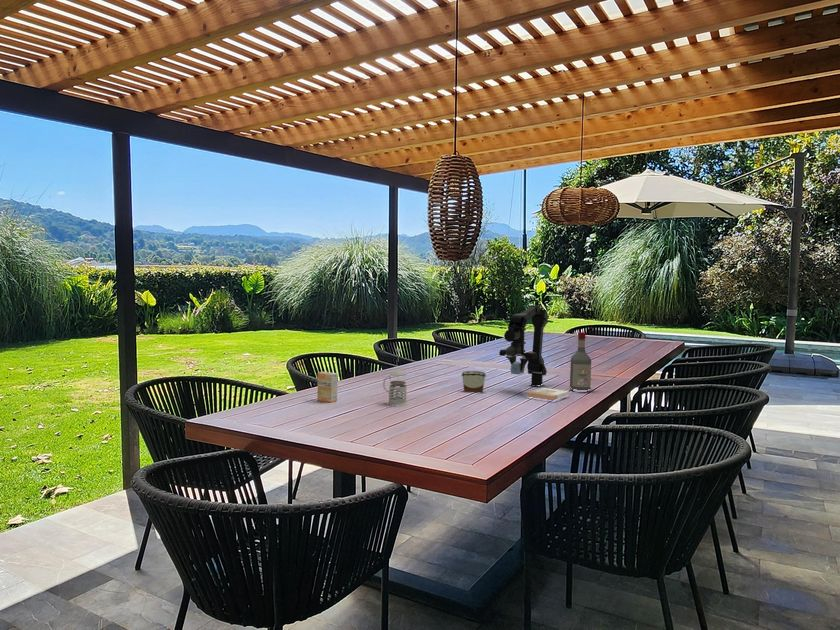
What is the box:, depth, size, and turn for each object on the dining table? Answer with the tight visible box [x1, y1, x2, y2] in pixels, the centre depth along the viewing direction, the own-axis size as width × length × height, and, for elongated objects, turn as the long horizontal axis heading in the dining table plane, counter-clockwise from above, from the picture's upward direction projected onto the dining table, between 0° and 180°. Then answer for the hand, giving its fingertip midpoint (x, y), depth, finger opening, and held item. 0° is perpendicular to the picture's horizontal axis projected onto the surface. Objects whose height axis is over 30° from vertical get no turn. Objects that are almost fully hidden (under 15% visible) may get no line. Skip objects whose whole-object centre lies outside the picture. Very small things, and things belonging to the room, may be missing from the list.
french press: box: [382, 348, 409, 406], centre depth 266 cm, size 10×12×25 cm
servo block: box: [509, 361, 526, 375], centre depth 293 cm, size 9×4×6 cm, turn 140°
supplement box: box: [316, 370, 339, 404], centre depth 269 cm, size 8×5×13 cm, turn 62°
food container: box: [460, 370, 487, 393], centre depth 296 cm, size 12×6×10 cm, turn 84°
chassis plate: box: [526, 387, 570, 400], centre depth 283 cm, size 16×14×3 cm
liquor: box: [569, 331, 592, 390], centre depth 300 cm, size 9×9×30 cm
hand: (517, 371), depth 293 cm, fingers closed on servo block, 4 cm apart
